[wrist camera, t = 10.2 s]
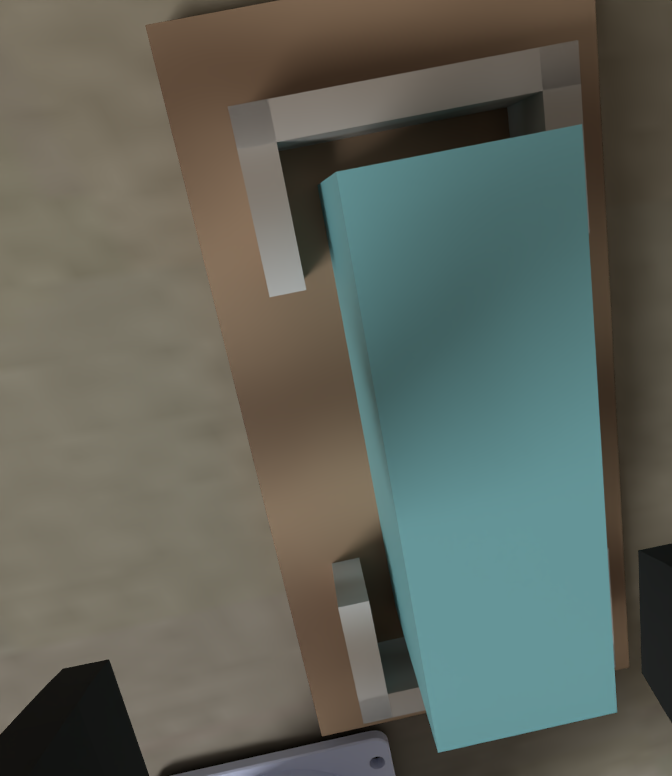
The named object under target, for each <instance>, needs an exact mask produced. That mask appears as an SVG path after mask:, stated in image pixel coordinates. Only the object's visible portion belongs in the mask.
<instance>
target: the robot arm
mask: <svg viewBox="0 0 672 776" xmlns="http://www.w3.org/2000/svg"><path fill="white" fill-rule="evenodd" d="M638 555H639V590H640V625H641V660H642V674H643V676H644V677H645V679H646V681H647V682H648V684H649V686H650V687H651V689H652V691H653V692H654V694H655V696H656V697H657V699H658V701H659V702H660V704H661V706H662V707H663V709H664V711H665V712H666V714H667V716H668V717H669V719H670V720H671V722H672V544H667V545H662V546H658V547H653V548H648V549H643V550H638ZM374 757H379V758H377V759H372V758H374ZM0 776H149V774H148V771H147V768H146V765H145V762H144V759H143V757H142V754H141V751H140V748H139V745H138V742H137V739H136V736H135V733H134V730H133V728H132V725H131V722H130V719H129V716H128V713H127V710H126V707H125V704H124V701H123V698H122V696H121V693H120V690H119V687H118V684H117V681H116V678H115V675H114V672H113V669H112V667H111V664H110V661H109V660H104V661H99V662H94V663H89V664H84V665H79V666H75V667H70V668H65V669H62V670H61V671H60V672H59V673H58V674H57V675H56V676H55V677H54V678H53V679H52V680H51V681H50V682H49V683H48V684H47V685H46V686H45V687H44V688H43V689H42V690H41V691H40V692H39V694H38V695H37V696H36V697H35V698H34V699H33V700H32V701H31V702H30V703H29V704H28V705H27V706H26V707H25V708H24V710H23V711H22V712H21V713H20V714H19V715H18V716H17V717H16V718H15V719H14V720H13V721H12V723H11V724H10V725H9V726H8V727H7V728H6V729H5V730H4V731H3V732H2V733H1V735H0ZM171 776H395V771H394V766H393V762H392V757H391V752H390V747H389V742H388V738H387V736H386V735H385V734H384V733H383V732H381V731H377V730H374V731H367V732H363V733H358V734H354V735H349V736H345V737H340V738H336V739H332V740H327V741H323V742H318V743H314V744H309V745H305V746H300V747H296V748H292V749H287V750H283V751H278V752H274V753H269V754H265V755H260V756H256V757H251V758H247V759H243V760H238V761H234V762H229V763H225V764H220V765H216V766H211V767H207V768H203V769H198V770H194V771H189V772H185V773H180V774H176V775H171Z"/></svg>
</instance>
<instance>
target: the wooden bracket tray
mask: <svg viewBox="0 0 672 776" xmlns="http://www.w3.org/2000/svg"><path fill="white" fill-rule="evenodd" d="M145 26H146V30H147V34H148V38H149V42H150V46H151V50H152V54H153V58H154V62H155V66H156V70H157V74H158V78H159V82H160V86H161V90H162V94H163V98H164V102H165V106H166V110H167V114H168V118H169V122H170V127H171V131H172V135H173V139H174V143H175V147H176V151H177V155H178V159H179V163H180V167H181V171H182V175H183V179H184V183H185V187H186V191H187V195H188V199H189V203H190V207H191V211H192V215H193V219H194V223H195V227H196V231H197V235H198V239H199V243H200V247H201V251H202V255H203V259H204V263H205V267H206V271H207V275H208V279H209V283H210V288H211V292H212V296H213V300H214V304H215V308H216V312H217V316H218V320H219V324H220V328H221V332H222V336H223V340H224V344H225V348H226V352H227V356H228V360H229V364H230V368H231V372H232V376H233V380H234V384H235V388H236V392H237V396H238V400H239V404H240V408H241V412H242V416H243V420H244V424H245V428H246V432H247V436H248V440H249V445H250V449H251V453H252V457H253V461H254V465H255V469H256V473H257V477H258V481H259V485H260V489H261V493H262V497H263V501H264V505H265V509H266V513H267V517H268V521H269V525H270V529H271V533H272V537H273V541H274V545H275V549H276V553H277V557H278V561H279V565H280V569H281V573H282V577H283V581H284V585H285V589H286V593H287V597H288V601H289V606H290V610H291V614H292V618H293V622H294V626H295V630H296V634H297V638H298V642H299V646H300V650H301V654H302V658H303V662H304V666H305V670H306V674H307V678H308V682H309V686H310V690H311V694H312V698H313V702H314V706H315V710H316V714H317V718H318V722H319V726H320V730H321V734H322V736H326V735H331V734H335V733H340V732H344V731H349V730H353V729H357V728H362V727H366V726H371V725H375V724H380V723H384V722H389V721H393V720H398V719H402V718H406V717H411V716H415V715H420V714H424V713H426V709H425V706H424V703H423V699H422V696H421V692H420V689H419V685H418V682H417V679H416V675H415V672H414V668H413V665H412V661H411V658H410V654H409V651H408V648H407V644H406V641H405V637H404V634H403V630H402V627H401V624H400V620H399V617H398V613H397V610H396V606H395V601H394V595H393V590H392V585H391V579H390V574H389V568H388V563H387V558H386V552H385V547H384V541H383V536H382V531H381V525H380V520H379V514H378V509H377V504H376V498H375V493H374V488H373V482H372V477H371V471H370V466H369V461H368V455H367V450H366V444H365V439H364V434H363V428H362V423H361V417H360V412H359V407H358V401H357V396H356V390H355V385H354V380H353V374H352V369H351V364H350V358H349V353H348V347H347V342H346V337H345V331H344V326H343V320H342V315H341V310H340V304H339V299H338V293H337V288H336V283H335V277H334V272H333V267H332V261H331V256H330V250H329V245H328V240H327V234H326V229H325V223H324V218H323V213H322V207H321V202H320V196H319V191H318V186H317V185H318V184H320V183H321V182H322V181H324V180H325V179H327V178H328V177H329V176H331V175H332V174H334V173H335V172H338V171H343V170H348V169H353V168H358V167H364V166H369V165H374V164H379V163H384V162H389V161H394V160H400V159H405V158H410V157H415V156H420V155H425V154H431V153H436V152H441V151H446V150H451V149H456V148H462V147H467V146H472V145H477V144H482V143H487V142H492V141H498V140H503V139H508V138H513V137H518V136H523V135H529V134H534V133H539V132H544V131H549V130H554V129H560V128H565V127H570V126H575V125H580V124H582V131H583V148H584V165H585V182H586V199H587V215H588V232H589V249H590V266H591V283H592V299H593V316H594V333H595V350H596V366H597V383H598V400H599V417H600V434H601V450H602V467H603V484H604V501H605V518H606V534H607V551H608V568H609V585H610V602H611V618H612V635H613V652H614V669H615V671H616V670H620V669H625V668H629V649H628V630H627V610H626V591H625V571H624V552H623V532H622V513H621V494H620V474H619V455H618V435H617V416H616V396H615V377H614V357H613V338H612V318H611V299H610V279H609V260H608V240H607V221H606V202H605V182H604V163H603V143H602V124H601V104H600V85H599V65H598V46H597V26H596V7H595V0H278V1H273V2H267V3H262V4H257V5H251V6H246V7H240V8H235V9H230V10H224V11H219V12H213V13H208V14H203V15H197V16H192V17H186V18H181V19H175V20H170V21H165V22H159V23H154V24H148V25H145Z"/></svg>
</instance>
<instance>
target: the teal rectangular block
mask: <svg viewBox="0 0 672 776" xmlns="http://www.w3.org/2000/svg"><path fill="white" fill-rule="evenodd" d="M317 186H318V191H319V196H320V202H321V207H322V213H323V218H324V223H325V229H326V234H327V240H328V245H329V250H330V256H331V261H332V267H333V272H334V277H335V283H336V288H337V293H338V299H339V304H340V310H341V315H342V320H343V326H344V331H345V337H346V342H347V347H348V353H349V358H350V364H351V369H352V374H353V380H354V385H355V390H356V396H357V401H358V407H359V412H360V417H361V423H362V428H363V434H364V439H365V444H366V450H367V455H368V461H369V466H370V471H371V477H372V482H373V488H374V493H375V498H376V504H377V509H378V514H379V520H380V525H381V531H382V536H383V541H384V547H385V552H386V558H387V563H388V568H389V574H390V579H391V585H392V590H393V595H394V601H395V606H396V610H397V613H398V617H399V620H400V624H401V627H402V630H403V634H404V637H405V641H406V644H407V648H408V651H409V654H410V658H411V661H412V665H413V668H414V672H415V675H416V679H417V682H418V685H419V689H420V692H421V696H422V699H423V703H424V706H425V709H426V713H427V716H428V720H429V723H430V727H431V730H432V733H433V737H434V740H435V744H436V747H437V751H438V753H440V752H444V751H449V750H453V749H457V748H462V747H466V746H471V745H475V744H479V743H484V742H488V741H493V740H497V739H502V738H506V737H510V736H515V735H519V734H524V733H528V732H533V731H537V730H541V729H546V728H550V727H555V726H559V725H564V724H568V723H572V722H577V721H581V720H586V719H590V718H594V717H599V716H603V715H608V714H612V713H617V702H616V685H615V669H614V652H613V635H612V618H611V602H610V585H609V568H608V551H607V534H606V518H605V501H604V484H603V467H602V450H601V434H600V417H599V400H598V383H597V366H596V350H595V333H594V316H593V299H592V283H591V266H590V249H589V232H588V215H587V199H586V182H585V165H584V148H583V131H582V124H580V125H575V126H570V127H565V128H560V129H554V130H549V131H544V132H539V133H534V134H529V135H523V136H518V137H513V138H508V139H503V140H498V141H492V142H487V143H482V144H477V145H472V146H467V147H462V148H456V149H451V150H446V151H441V152H436V153H431V154H425V155H420V156H415V157H410V158H405V159H400V160H394V161H389V162H384V163H379V164H374V165H369V166H364V167H358V168H353V169H348V170H343V171H338V172H335V173H334V174H332V175H331V176H329V177H328V178H327V179H325V180H324V181H322V182H321V183H320V184H318V185H317Z"/></svg>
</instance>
